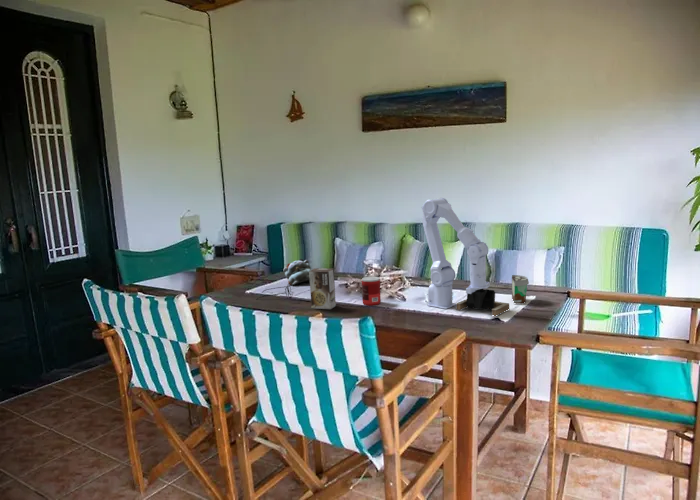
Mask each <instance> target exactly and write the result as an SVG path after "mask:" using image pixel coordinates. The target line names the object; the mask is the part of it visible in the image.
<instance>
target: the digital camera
mask: <svg viewBox="0 0 700 500" xmlns="http://www.w3.org/2000/svg"><path fill="white" fill-rule="evenodd" d="M485 290H487V293H486V295H485V297H484V300H483V303H482V307H481V310H492V309H493V308H494V305H495V301H496V291H495V290H493V289H489V288H486V289H485ZM466 295H467V296H466V299H467V303H466V306H467V309H476V308H475V306H474V302H473V299H472V297H471V295H470V294H467V293H466Z"/></svg>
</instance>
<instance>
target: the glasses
mask: <svg viewBox="0 0 700 500" xmlns="http://www.w3.org/2000/svg"><path fill="white" fill-rule="evenodd" d="M281 288H285V289H284V291H285V292H282V293H275V294H268V295H262V296H259V297H257V298H256V300H259V299H261V298H263V297H270V296H278V295H286V298H288V297H289V294H291V292H292V287H291V285H290V283H288V282H287V286H278V287H277V289H281ZM274 289H276V287H273V288H272V287H271V288H267V289H264V290H263V291H262V293H264V292H265V291H269V290H274ZM289 289H290V290H289Z"/></svg>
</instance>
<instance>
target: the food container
mask: <svg viewBox="0 0 700 500" xmlns="http://www.w3.org/2000/svg"><path fill="white" fill-rule="evenodd" d="M529 284H530V282H529V279H528V277H527V276H525V275H519V274H517V275H516V274H511V299H513V300H512V302H513V301H514V302H513V304H514V303H523V304H525V303H526V301H527V289H528V285H529ZM524 302H525V303H524Z"/></svg>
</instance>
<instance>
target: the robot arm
mask: <svg viewBox="0 0 700 500" xmlns="http://www.w3.org/2000/svg"><path fill="white" fill-rule="evenodd" d="M421 210H422V218H421V219H422V220H421V221H422V225H423V230H424V233H425V238H426V241H427V246H428V248H429V253H430V256H431V260H432V264H431V267H430V281H431V282H432V283H431V284H430V285H429V286H428V289H427V295H428V297H427V299H428V301H427V303H428V304H427V306H428V307H433V308H437V309H445V310H448V309H450V308H452V307H455V306H457V303H455V302H453V283H454V280H455V279H456V275H457V274H456V271H455V269H454V268H453V266H452V264H451V262H450V261H448V259H447V257H446V253H445V250H444V246H443V242H442V238H441V236H440V235H441V234H440V231H439V227H438V224H437V223H438V222H439V219H441V218H444V219H445V220H446V221H447V223H448V224H449V225H450V226H451V227H452V228H453V230H455V231H456V233H457V234H456V235H457V238H458V240H459V241H460V242H461V244H463V246H464V247H465V249H466V253H467V255H468V257H469V262H470V265H469V266H470V268H469V269H470V271H469V272H470V273H469V274H470V276H469V277H470V279H469V280H470V281H469V282H470V284H469V285H468V287H466V288H465V294H466V295H467V294H470V295H471V297H472V299H473V302H474V306H475V308H474V309H477V310H480V309H481V307H482V303H483V300H484V297H485V295H486V293H487V290H486V289H489V288H491V287H490V281H487V280H486V278H487V276H486V275H487V274H486V271H487V267H486V263H487V262H486V261H487V260H486V257H487V255H488V253H489V246H488V245H487V243H486V242H484V241H481V239H480V238H478V237H477V236H476V235H475V233H474V230H473V229H472V228H470V227H466V226H464V224H463V223H462V221H461V220H460V219H459V216H457V214H456V213H455V212H454V210H453V208H452V205H451V203H450V202H449V201H448V200H447V199H446V198H445V197H440V198H432V199H430V198H429V199H426V200H425V201H424V203H423V204H422V206H421ZM481 310H482V309H481Z"/></svg>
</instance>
